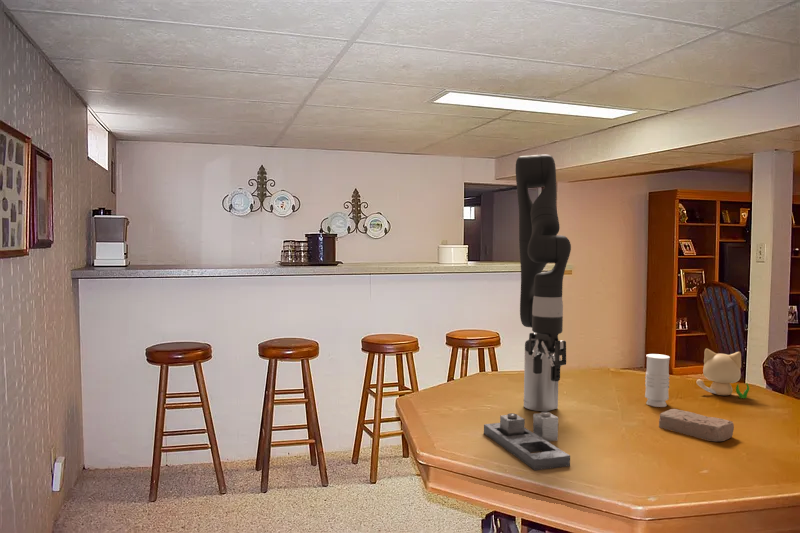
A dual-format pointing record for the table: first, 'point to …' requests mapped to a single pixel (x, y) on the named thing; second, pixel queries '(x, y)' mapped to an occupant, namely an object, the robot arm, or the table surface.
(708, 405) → the table surface
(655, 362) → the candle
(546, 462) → the grey slotted board
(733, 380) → the kitten
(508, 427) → the knobbed grey cube
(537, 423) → the cube with silver knob
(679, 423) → the brick
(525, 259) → the robot arm
